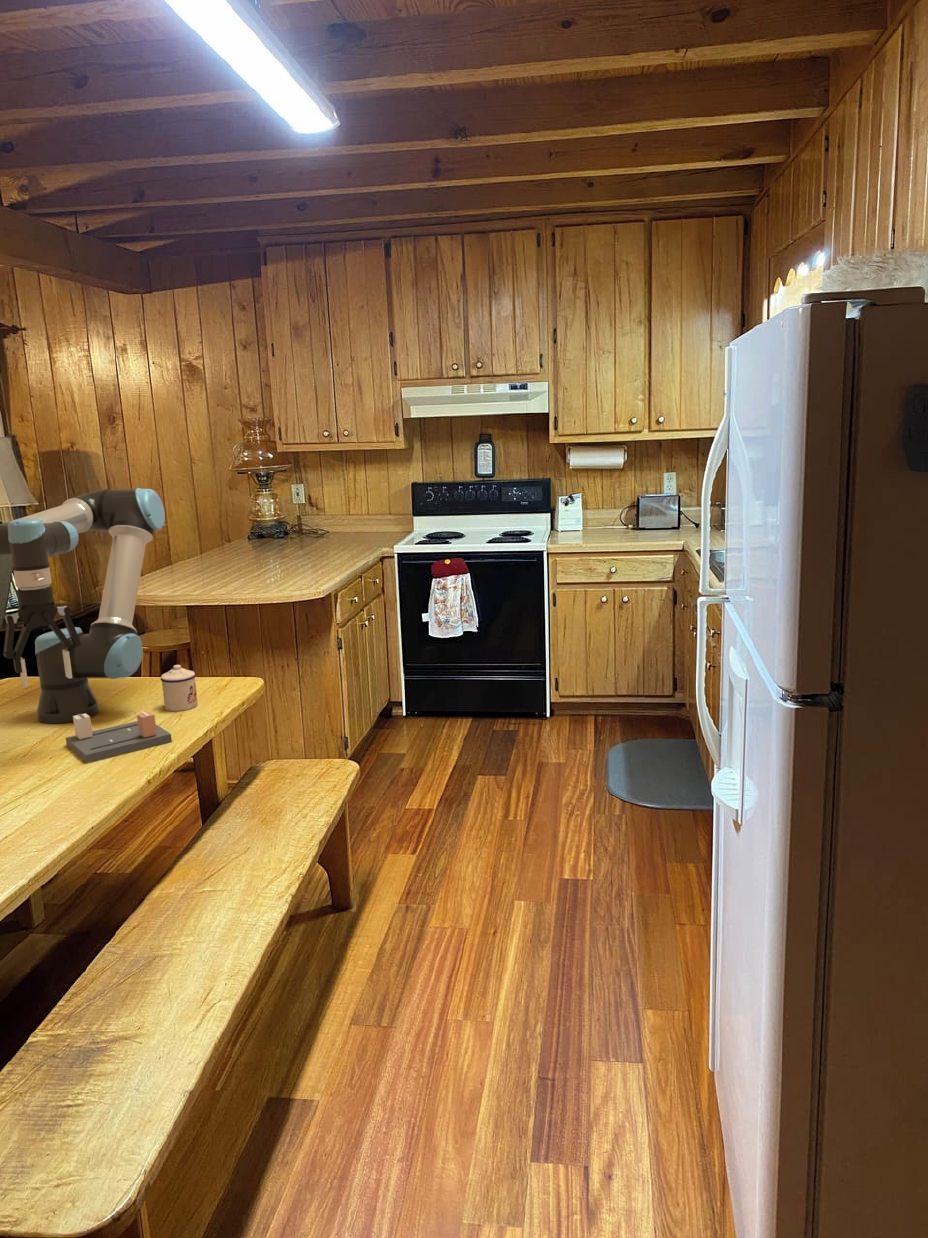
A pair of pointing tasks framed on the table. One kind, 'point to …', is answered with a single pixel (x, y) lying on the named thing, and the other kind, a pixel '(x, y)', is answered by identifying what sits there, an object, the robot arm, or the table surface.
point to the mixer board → (115, 742)
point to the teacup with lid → (179, 689)
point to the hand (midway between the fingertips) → (47, 681)
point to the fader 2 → (146, 724)
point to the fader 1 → (82, 726)
